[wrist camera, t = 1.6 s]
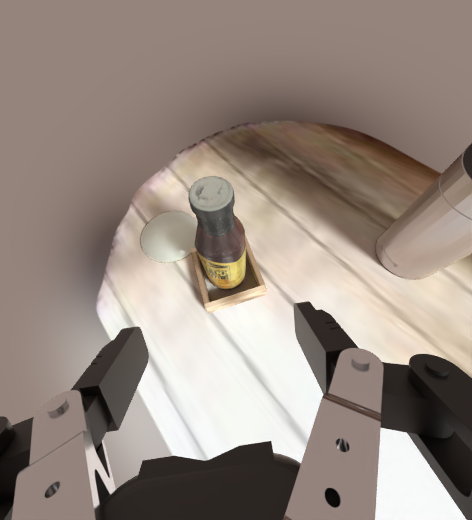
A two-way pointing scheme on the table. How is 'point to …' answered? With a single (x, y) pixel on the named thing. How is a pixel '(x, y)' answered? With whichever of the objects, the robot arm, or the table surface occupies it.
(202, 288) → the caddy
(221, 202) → the sauce bottle
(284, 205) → the table surface
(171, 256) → the trivet
